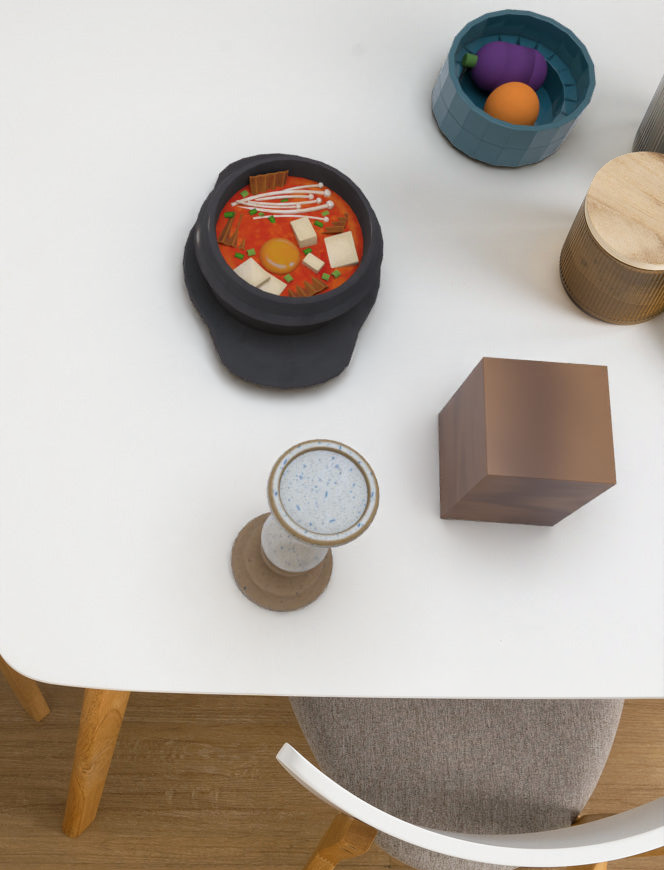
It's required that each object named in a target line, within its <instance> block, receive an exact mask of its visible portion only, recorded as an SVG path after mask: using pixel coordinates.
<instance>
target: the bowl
mask: <svg viewBox="0 0 664 870" xmlns="http://www.w3.org/2000/svg"><path fill="white" fill-rule="evenodd" d="M493 41H503V42H508V43H512V44H516V45H520V46H525V47H529V48H533V49H535V50H537V51H539V52H540V53H541V54H542V55H543V56H544V58H545V60H546V63H547V76H546V79H545V81H544V83H543V84H542V86H541V87H540V88H539V89H538V90H537V91H536V92H535V93H536V95H537V97H538V100H539V114H538V117H537V120H536V122H535V123H534V125H533V126H527V125H514V124H511V123H508V122H505V121H502V120H499V119H497V118H494V117H492V116H490V115H489V114H487V113H486V112H484V111H483V110H484V105H485V103H486V100H487V98H488V97H489V95H490V94H491V93H492V92H489V91H486V90H483V89H481V88H480V87H478V86H477V85H476V84H475V82H474V80H473V78H472V75H471V68H469V67H465V66H462V59H463V56H464V55H465V53H469V54H473V55H475V54H476V53H477V51H478V50H479V49H480V48H481V47H483V46H484V45H486V44H488V43H490V42H493ZM444 59H445V60H444V62H443V63H442V67H441V68H440V71H439V74H438V76H437V79H436V81H435V84H434V85H433V86H434V87H433V89H432V91H431V92H432V93H431V94H432V96H431V97H432V99H431V101H432V113H433V115H434V118H435V121H436V122H437V126H438V128H439V130H440V131H441V132H442V133H443V135H444V136H445V137H446V139H448V141H449V142H450V143H451V144H452V146H453V147H454V148H456V149H458V150H459V151H461V152H462V153H463V154H465V155H466V156H468V157H470V158H472V159H474V160H477V161H480V162H483V163H486V164H488V165H492V166H496V167H498V166H499V167H511V168H516V167H517V168H518V167H523V166H528V165H532V164H537V163H539V162H540V161H542V160H544V159H546V158H548V157H550V156H551V155H553V154H554V153H556V152H557V151H558V149H559V148H560V147H561V146H562V145H563V143H564V142H565V141H566V140H567V138H568V137H569V136H570V134H571V132H572V131H573V129H574V128H575V126H576V125H577V123H578V121H579V120H580V119H581V117H582V116H583V114H584V113H585V111H586V109H587V108H588V106H589V105H590V103H591V101H592V98H593V94H594V91H595V88H596V85H597V82H596V81H597V80H596V69H595V68H596V67H595V63H594V62H593V59H592V57H591V55H590V53H589V51H588V48H587V46H586V44H585V43H584V42H582V40H581V39H580V38H579V37H578V36H577V35H576V34H575V33H574V32H573V31H572V29H570V28H568V27H567V26H565V25H564V24H562V23H560V22H559V21H558V20H556V19H554V18H552V17H550V16H548V15H547V16H546V15H543V14H542V13H541V14H540V13H538V12H535V11H532V10H524V9H512V8H511V9H510V8H506V9H499V10H495V11H490V12H485V13H484V14H482V15H480V16H478V17H476V18H474V19H472V20H470V21H469V22H467V23H466V24H465V25H464V26H463V27H462V28H461V29H460V31H459V32H457V34H456V35H455V36H454V38H453V40H452V43H451V45H450V47H449V50H448V52H447V55H446V57H445V58H444Z"/></svg>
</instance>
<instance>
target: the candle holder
mask: <svg viewBox="0 0 664 870" xmlns="http://www.w3.org/2000/svg"><path fill="white" fill-rule="evenodd" d="M380 498H381V497H380V486H379V482H378V479H377V476H376V474H375V471H374V469H373V468H372V466H371V464H370V463H369V462H368V461H367V460H366V458H365V457H364V456H363V455H361V454H360V453H359V452H358V451H357V450H356V449H355V448H352V447H351V446H349V445H348V444H345V443H343V442H340V441H338V440H337V441H336V440H332V439H326V438H315V439H309V440H305V441H301V442H299V443H297V444H295V445H292V446H291V447H290V448H288V449H287V450H285V451H284V452H283V453H282V454H281V455H280V456H279V457H278V458H277V460H276V461H275V462H274V463H273V465H272V468H271V469H270V471H269V475H268V477H267V482H266V500H267V505H268V509H269V511H268V512H265V513H263V514H260V515H258V516H256V517H254V518H253V519H251V520H249V521H248V522H247V523H246V524H245V525H244V526H243V527H242V528H241V530H240V531H239V532H238V534H237V536H236V537H235V540H234V542H233V545H232V549H231V553H230V565H231V573H232V575H233V578H234V581H235V582H236V584H237V586H238V588H239V590H240V591H241V592H242V593H243V595H245V597H247V598H248V599H249V600H250V601H252V602H253V603H254V604H256V605H258V606H260V607H262V608H264V609H266V610H269V611H276V612H293V611H297V610H300V609H302V608H305V607H307V606H309V605H311V604H312V603H313V602H315V601H316V600H317V599H318V598H320V596H321V595H322V594H323V593H324V592H325V590H326V589H327V587H328V585H329V582H330V581H331V577H332V574H333V569H334V557H333V551H332V548H337V547H338V548H339V547H341V546H345V545H347V544H350V543H351V542H354V541H356V540H357V539H358V538H360V537H361V536H362V535H363V534H364V533H366V531H367V530H368V529H369V528H370V527H371V525H372V523H373V522H374V520H375V518H376V516H377V513H378V509H379V505H380Z"/></svg>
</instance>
